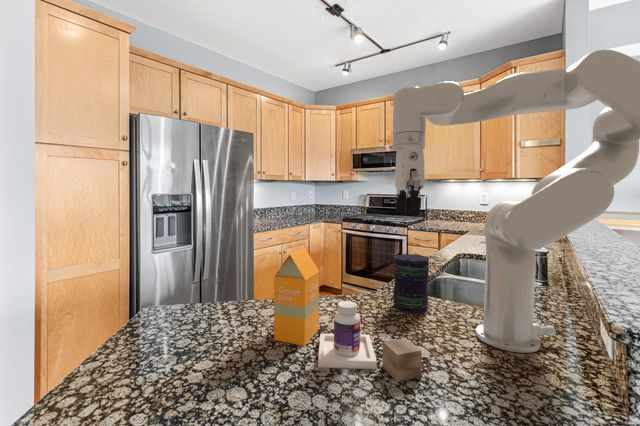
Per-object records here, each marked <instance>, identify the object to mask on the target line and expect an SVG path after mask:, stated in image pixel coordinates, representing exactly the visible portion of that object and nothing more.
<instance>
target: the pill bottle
mask: <svg viewBox="0 0 640 426" xmlns="http://www.w3.org/2000/svg"><path fill="white" fill-rule="evenodd" d="M357 312H358V304H357V302H354V301H349V300H344V301H340V302H338V303H337V312H336V313H335V314H334V318H333V322H334V323H333V334H334V350H335V352H336V353H338V354H339V355H343V356H353V355H356V354H357V353H358V352H359V350H360V335H361V316H360V315H359V314H358V313H357Z"/></svg>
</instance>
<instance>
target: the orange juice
mask: <svg viewBox="0 0 640 426" xmlns="http://www.w3.org/2000/svg"><path fill="white" fill-rule="evenodd" d="M319 290H320V270H319V268H318V266H317V265H316V264H315V262H314V260H313V258H312V257H311V255H310V253H309V251H308V250H307V249H306V247H302V248H299V249H297V250H294V251H292V252H289V254H288V256H287V257H286V258H285V260H284V262H283V263H282V265H281V266H280V268H279V269H278V271H277V272H276V274H275V275H274V276H273V327H274V328H273V334H274V335H273V337H274V338H273V340H274V341H277V342H284V343H289V344H293V345H298V346H304V347H305V346H306V345H307V344H308V343H309V342H310V340H311V339H312V338H313V337H314V336H315V335H316V333H318V331H319V330H320V329H319V327H320V326H319V325H320V324H319V323H320V320H319V319H320V317H319V316H320V315H319V313H320V312H319V311H320V310H319V307H320V291H319ZM318 329H319V330H318ZM317 330H318V331H317Z"/></svg>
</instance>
